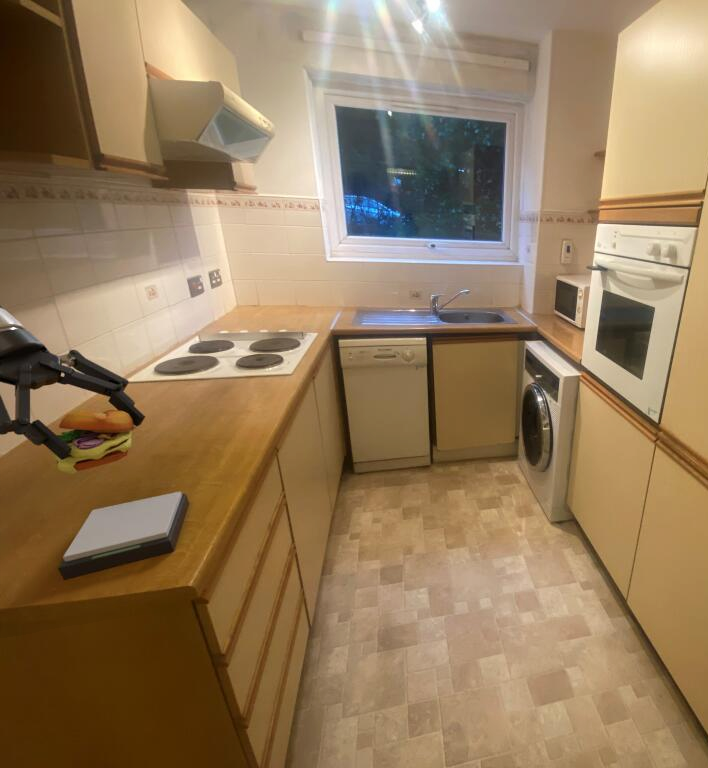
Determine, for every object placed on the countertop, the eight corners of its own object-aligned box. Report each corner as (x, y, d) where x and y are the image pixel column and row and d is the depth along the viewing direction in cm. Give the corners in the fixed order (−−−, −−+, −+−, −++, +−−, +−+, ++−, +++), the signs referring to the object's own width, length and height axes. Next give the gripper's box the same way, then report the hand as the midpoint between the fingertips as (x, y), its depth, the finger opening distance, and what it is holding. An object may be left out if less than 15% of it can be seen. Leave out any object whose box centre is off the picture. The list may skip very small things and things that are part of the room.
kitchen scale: (63, 579, 67) (55, 563, 66) (96, 524, 78) (89, 508, 77) (173, 551, 72) (168, 535, 71) (189, 503, 84) (184, 488, 83)
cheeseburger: (35, 473, 70) (27, 413, 69) (104, 454, 81) (99, 402, 80) (89, 478, 69) (83, 417, 68) (152, 458, 80) (147, 405, 78)
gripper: (75, 337, 83) (163, 418, 86) (-111, 381, 62) (14, 487, 65) (86, 312, 80) (178, 397, 83) (-105, 348, 59) (26, 461, 62)
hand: (106, 436), depth 74 cm, fingers closed on cheeseburger, 11 cm apart
